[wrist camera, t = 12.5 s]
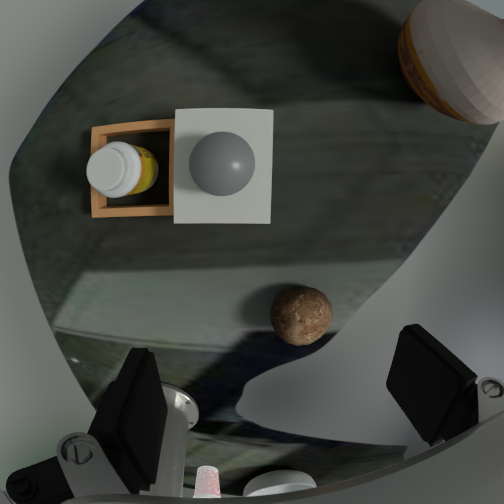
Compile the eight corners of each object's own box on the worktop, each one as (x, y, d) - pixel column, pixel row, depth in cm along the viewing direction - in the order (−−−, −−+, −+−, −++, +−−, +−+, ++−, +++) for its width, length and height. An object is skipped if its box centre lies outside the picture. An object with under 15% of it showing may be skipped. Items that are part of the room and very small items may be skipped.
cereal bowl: (322, 459, 50) (330, 482, 43) (295, 489, 54) (300, 508, 47) (252, 459, 48) (255, 484, 41) (234, 488, 51) (235, 509, 45)
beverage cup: (220, 476, 49) (221, 524, 36) (193, 474, 48) (191, 522, 35) (222, 465, 48) (224, 517, 34) (194, 463, 47) (191, 514, 33)
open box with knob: (264, 216, 34) (274, 228, 27) (100, 218, 32) (70, 230, 25) (266, 119, 31) (278, 103, 23) (100, 126, 29) (70, 116, 22)
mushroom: (310, 356, 37) (319, 356, 31) (259, 331, 38) (259, 326, 32) (334, 306, 39) (346, 297, 33) (285, 282, 41) (289, 269, 35)
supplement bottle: (166, 155, 31) (141, 148, 21) (150, 198, 32) (120, 208, 23) (127, 142, 30) (90, 132, 21) (112, 184, 32) (72, 189, 22)
